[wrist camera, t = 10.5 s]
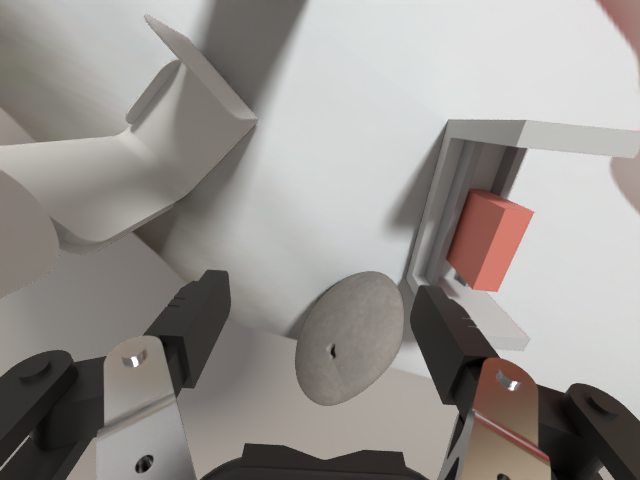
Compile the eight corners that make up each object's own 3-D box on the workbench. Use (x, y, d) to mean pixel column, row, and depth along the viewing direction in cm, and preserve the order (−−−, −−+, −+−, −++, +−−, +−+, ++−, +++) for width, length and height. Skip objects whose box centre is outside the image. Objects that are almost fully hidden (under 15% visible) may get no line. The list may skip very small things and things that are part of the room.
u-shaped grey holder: (448, 119, 33) (526, 120, 20) (525, 127, 33) (649, 132, 21) (405, 278, 43) (439, 344, 31) (465, 283, 43) (523, 351, 31)
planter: (317, 328, 48) (313, 443, 31) (288, 307, 46) (268, 417, 29) (397, 267, 42) (446, 367, 25) (368, 240, 40) (400, 328, 23)
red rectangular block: (462, 187, 35) (505, 209, 27) (484, 189, 35) (534, 211, 27) (441, 253, 39) (472, 289, 31) (461, 255, 39) (497, 291, 31)
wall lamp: (261, 118, 33) (-15, 119, 6) (162, 220, 39) (-195, 446, 12) (195, 42, 30) (-1003, -667, 3) (99, 166, 36) (-582, 310, 9)
